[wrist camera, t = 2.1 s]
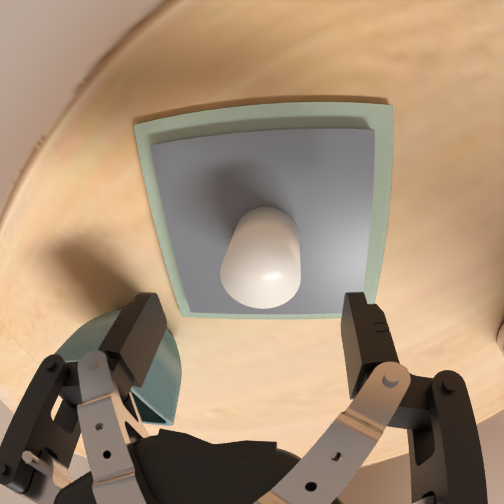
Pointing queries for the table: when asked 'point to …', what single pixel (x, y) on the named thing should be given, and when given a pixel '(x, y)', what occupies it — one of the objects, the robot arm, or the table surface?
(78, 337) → the flower pot
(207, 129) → the mat
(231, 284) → the lid
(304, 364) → the table surface
